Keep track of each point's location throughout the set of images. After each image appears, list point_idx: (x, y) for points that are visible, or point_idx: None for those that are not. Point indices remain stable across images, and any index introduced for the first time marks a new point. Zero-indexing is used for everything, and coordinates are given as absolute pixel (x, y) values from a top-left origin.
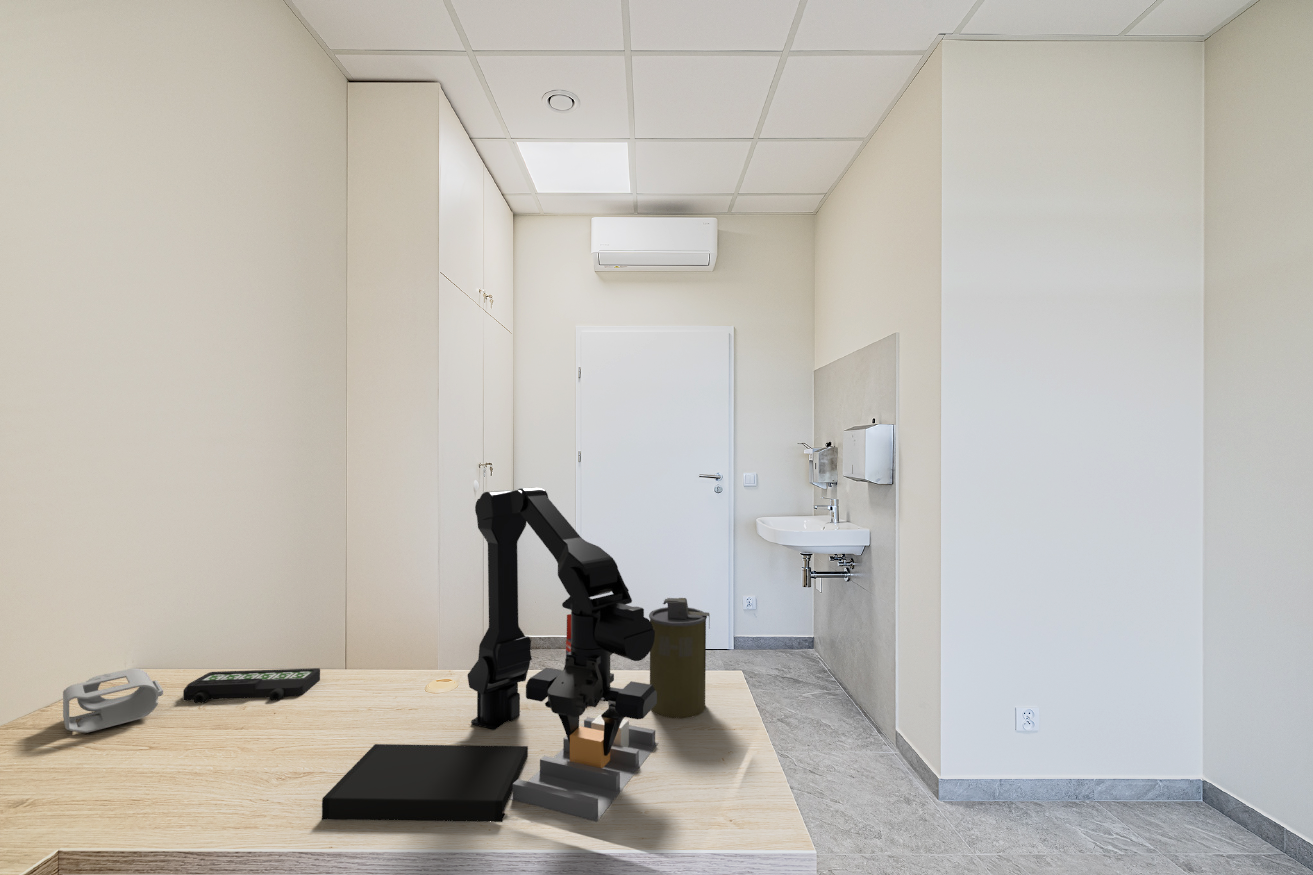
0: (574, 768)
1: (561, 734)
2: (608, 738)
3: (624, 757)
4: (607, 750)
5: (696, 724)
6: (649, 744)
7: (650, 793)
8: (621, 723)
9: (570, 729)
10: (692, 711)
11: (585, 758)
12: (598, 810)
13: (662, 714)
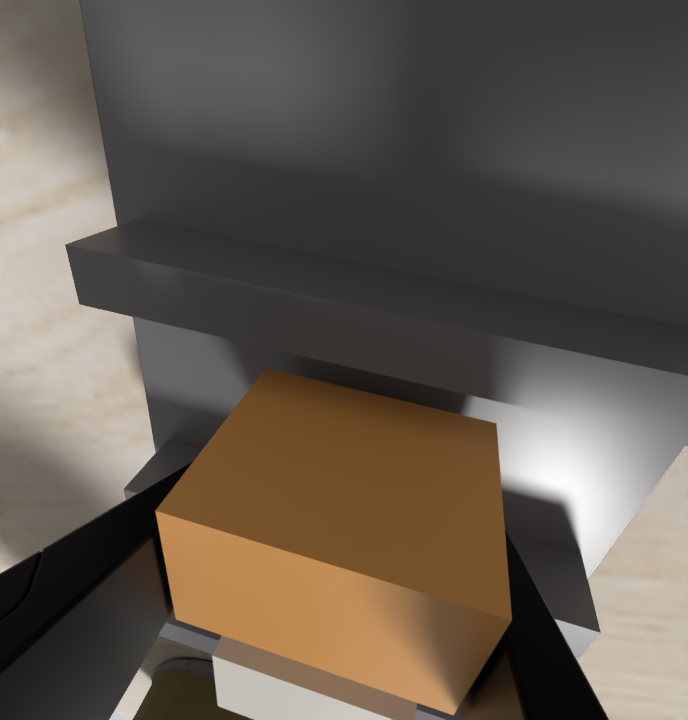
0: (412, 313)
1: (623, 674)
2: (83, 537)
3: None
4: (183, 468)
5: (157, 652)
6: None
7: (58, 293)
8: (234, 688)
9: (517, 695)
10: (150, 699)
11: (363, 429)
12: None
13: None
